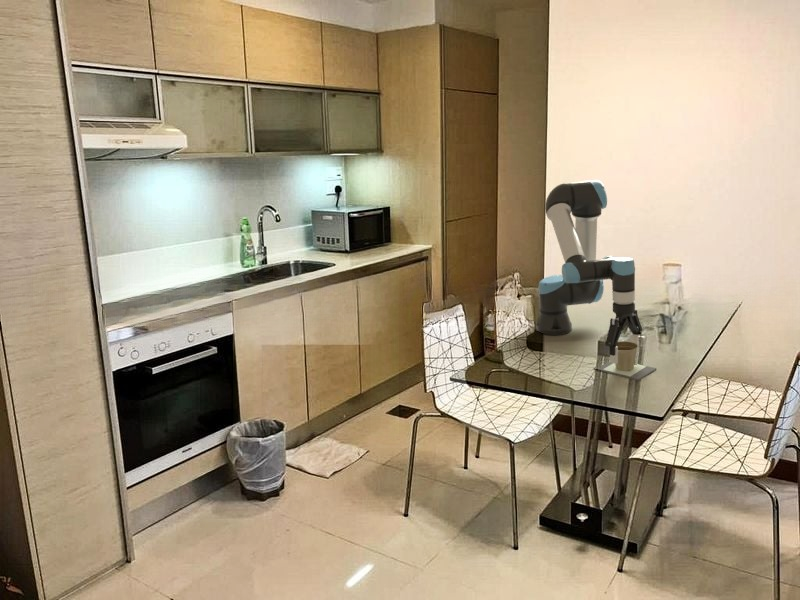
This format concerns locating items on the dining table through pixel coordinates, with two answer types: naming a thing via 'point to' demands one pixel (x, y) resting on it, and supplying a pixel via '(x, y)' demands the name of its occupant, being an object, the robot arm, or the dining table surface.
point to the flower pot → (626, 355)
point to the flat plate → (628, 371)
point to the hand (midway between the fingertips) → (624, 357)
